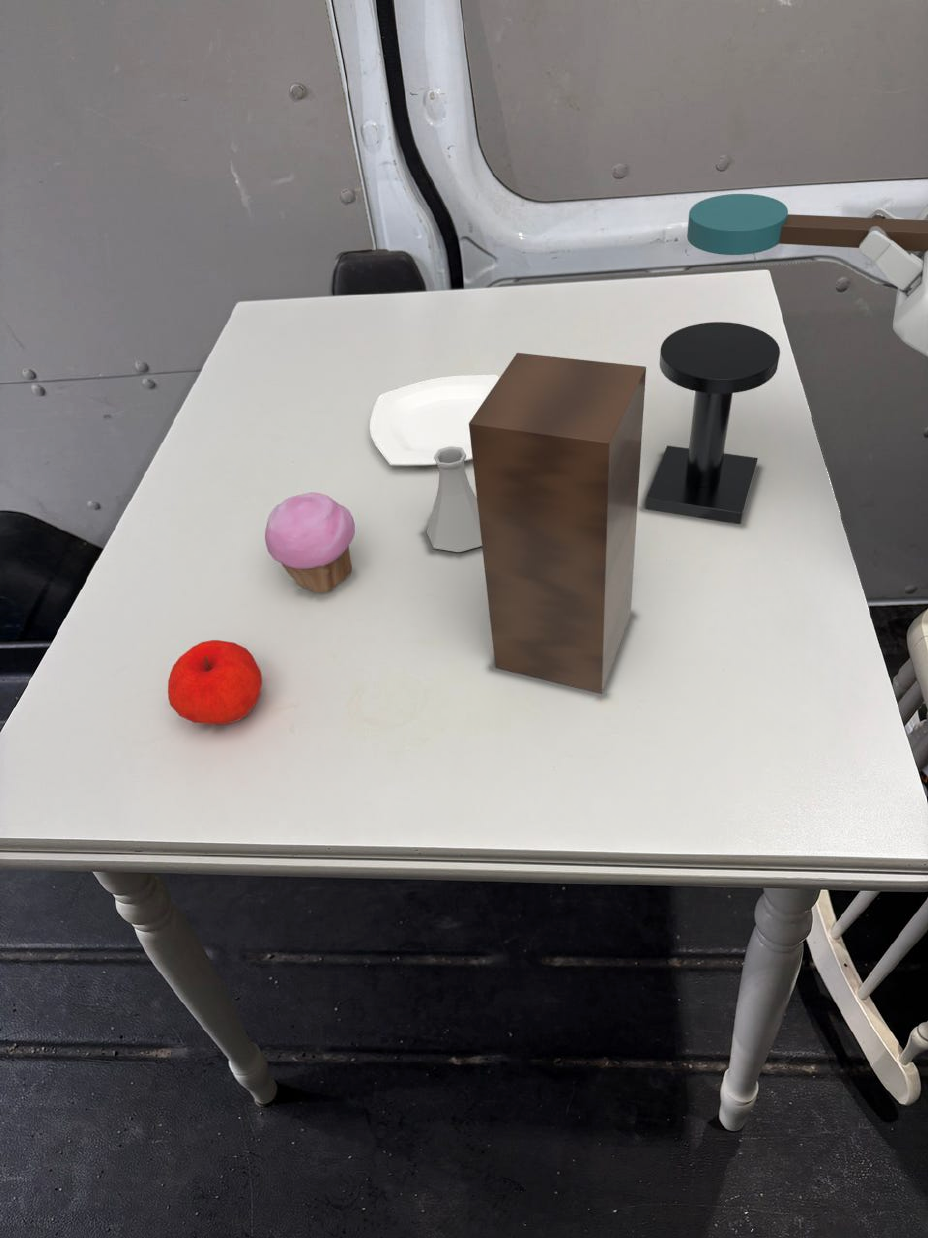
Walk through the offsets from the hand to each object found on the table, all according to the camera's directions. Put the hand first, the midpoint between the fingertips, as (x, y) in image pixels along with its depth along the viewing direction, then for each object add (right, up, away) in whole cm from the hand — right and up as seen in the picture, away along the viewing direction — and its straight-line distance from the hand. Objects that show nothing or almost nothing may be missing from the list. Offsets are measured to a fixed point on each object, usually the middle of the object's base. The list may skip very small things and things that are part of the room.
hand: (867, 226), depth 68 cm
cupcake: (-47, -28, +20) cm, 58 cm away
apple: (-54, -40, +9) cm, 68 cm away
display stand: (-7, -17, +24) cm, 30 cm away
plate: (-35, -8, +37) cm, 51 cm away
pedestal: (-23, -34, +10) cm, 42 cm away
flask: (-33, -22, +23) cm, 46 cm away
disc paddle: (-4, 0, +2) cm, 5 cm away
